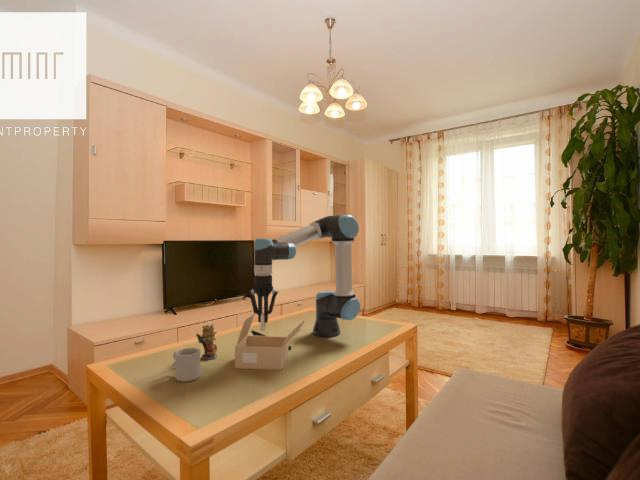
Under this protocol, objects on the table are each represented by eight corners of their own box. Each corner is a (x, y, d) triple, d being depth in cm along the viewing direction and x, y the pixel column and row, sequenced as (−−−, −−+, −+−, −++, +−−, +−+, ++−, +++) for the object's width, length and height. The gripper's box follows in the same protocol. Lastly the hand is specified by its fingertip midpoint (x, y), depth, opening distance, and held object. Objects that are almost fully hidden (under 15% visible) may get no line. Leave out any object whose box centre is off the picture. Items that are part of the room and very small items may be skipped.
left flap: (246, 334, 150) (253, 313, 150) (247, 334, 150) (254, 313, 149) (236, 343, 137) (244, 320, 137) (237, 343, 137) (245, 321, 137)
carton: (246, 355, 151) (246, 335, 151) (288, 356, 150) (288, 336, 149) (235, 368, 136) (235, 346, 136) (281, 370, 135) (281, 348, 134)
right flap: (287, 335, 148) (303, 320, 148) (288, 336, 148) (304, 321, 147) (281, 345, 136) (299, 328, 135) (282, 346, 136) (300, 329, 135)
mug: (206, 375, 130) (205, 349, 130) (187, 384, 122) (187, 357, 121) (182, 369, 135) (182, 344, 135) (163, 378, 127) (163, 352, 127)
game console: (292, 350, 159) (292, 331, 159) (268, 357, 150) (268, 336, 150) (273, 342, 171) (273, 324, 170) (250, 348, 161) (250, 329, 161)
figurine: (221, 355, 150) (221, 322, 150) (210, 361, 143) (210, 327, 143) (204, 353, 153) (204, 320, 153) (192, 359, 146) (192, 325, 146)
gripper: (245, 275, 139) (245, 331, 140) (276, 276, 138) (276, 332, 138) (250, 273, 147) (250, 327, 147) (280, 273, 145) (279, 327, 146)
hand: (263, 329), depth 143 cm, fingers closed
